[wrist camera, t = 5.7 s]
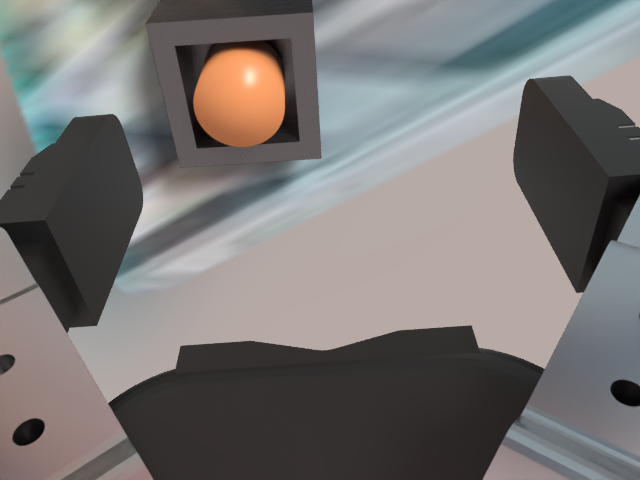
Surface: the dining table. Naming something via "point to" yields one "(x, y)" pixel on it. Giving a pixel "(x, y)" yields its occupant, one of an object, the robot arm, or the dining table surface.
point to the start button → (241, 93)
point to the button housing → (235, 26)
